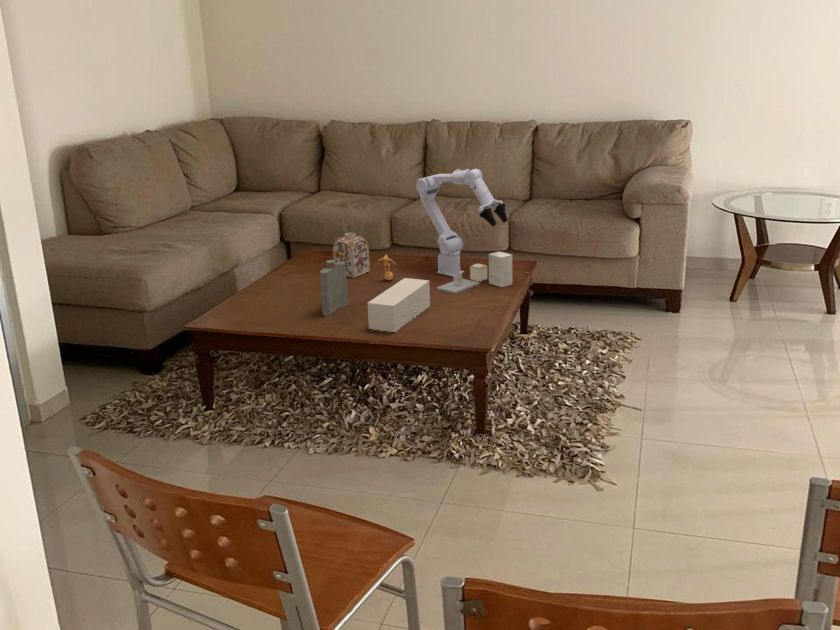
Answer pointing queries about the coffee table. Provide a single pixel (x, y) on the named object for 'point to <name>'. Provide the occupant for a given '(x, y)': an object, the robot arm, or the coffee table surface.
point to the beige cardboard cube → (478, 272)
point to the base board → (457, 289)
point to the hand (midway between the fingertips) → (500, 223)
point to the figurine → (388, 274)
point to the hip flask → (333, 286)
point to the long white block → (398, 304)
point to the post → (458, 279)
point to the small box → (500, 269)
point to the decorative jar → (352, 254)
